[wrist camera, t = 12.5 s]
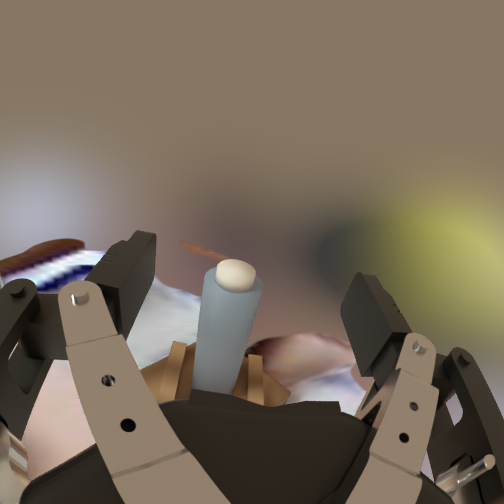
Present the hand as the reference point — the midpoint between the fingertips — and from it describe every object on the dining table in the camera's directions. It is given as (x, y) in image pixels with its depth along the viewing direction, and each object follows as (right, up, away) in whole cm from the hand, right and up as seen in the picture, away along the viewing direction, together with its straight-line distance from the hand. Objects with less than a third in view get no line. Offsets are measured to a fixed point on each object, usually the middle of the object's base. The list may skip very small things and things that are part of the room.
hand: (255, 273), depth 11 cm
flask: (-5, -16, +20) cm, 26 cm away
